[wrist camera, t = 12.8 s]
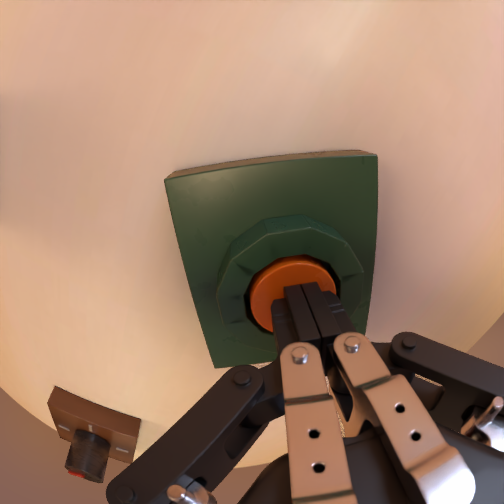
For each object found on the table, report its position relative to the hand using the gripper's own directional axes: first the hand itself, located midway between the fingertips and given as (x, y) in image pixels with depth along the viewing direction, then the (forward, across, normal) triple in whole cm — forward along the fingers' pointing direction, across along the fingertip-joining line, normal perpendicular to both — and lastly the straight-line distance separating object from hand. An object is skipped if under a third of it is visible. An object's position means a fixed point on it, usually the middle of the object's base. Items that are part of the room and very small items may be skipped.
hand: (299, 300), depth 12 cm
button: (+2, 0, 0) cm, 2 cm away
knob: (+2, +22, +18) cm, 29 cm away
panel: (+4, +22, +18) cm, 29 cm away
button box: (+4, 0, 0) cm, 4 cm away
